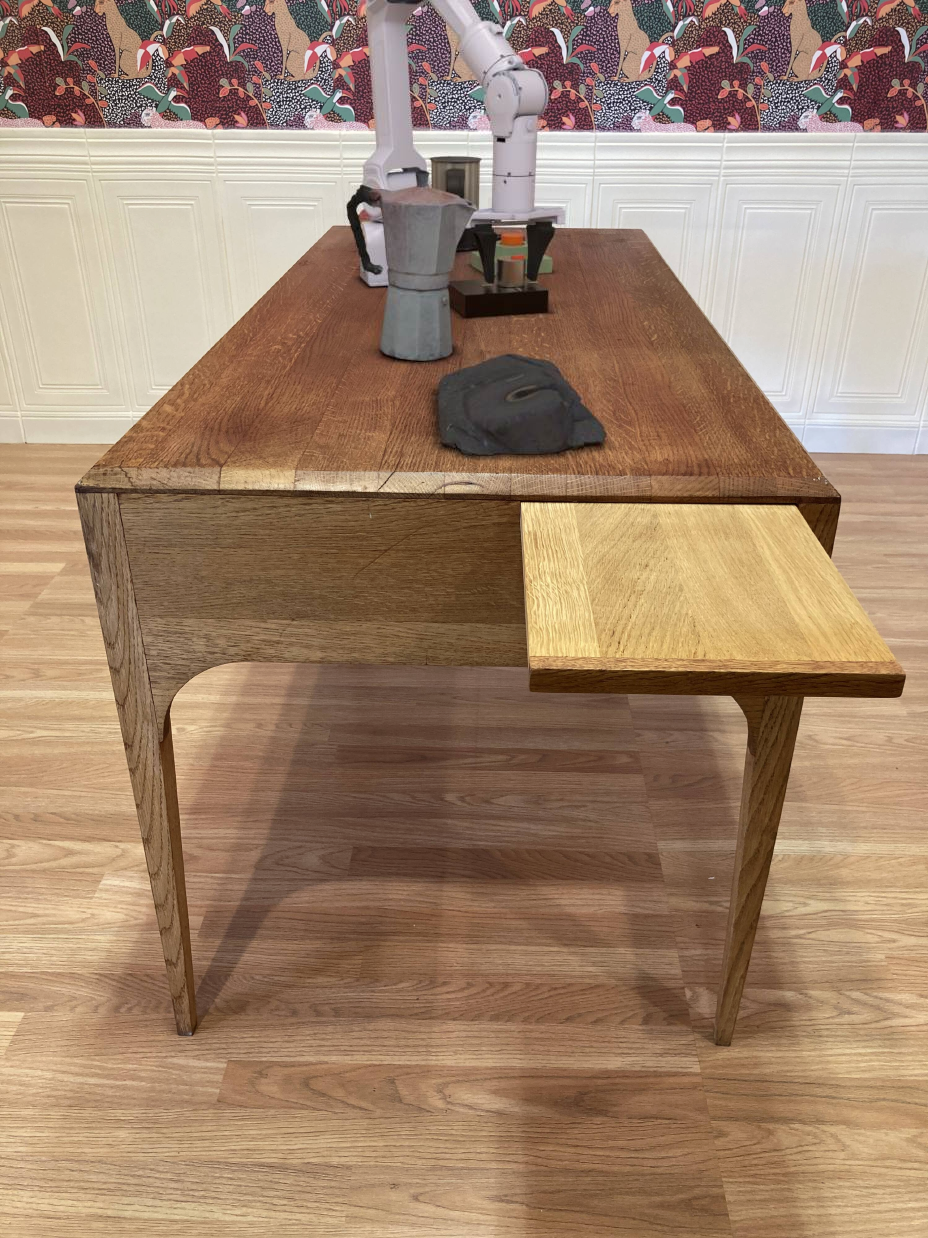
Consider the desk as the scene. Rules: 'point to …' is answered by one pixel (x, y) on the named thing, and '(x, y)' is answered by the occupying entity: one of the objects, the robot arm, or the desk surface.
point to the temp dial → (511, 271)
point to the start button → (512, 239)
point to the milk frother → (459, 185)
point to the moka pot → (415, 264)
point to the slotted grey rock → (513, 409)
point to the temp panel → (496, 298)
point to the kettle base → (512, 250)
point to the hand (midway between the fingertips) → (510, 280)
